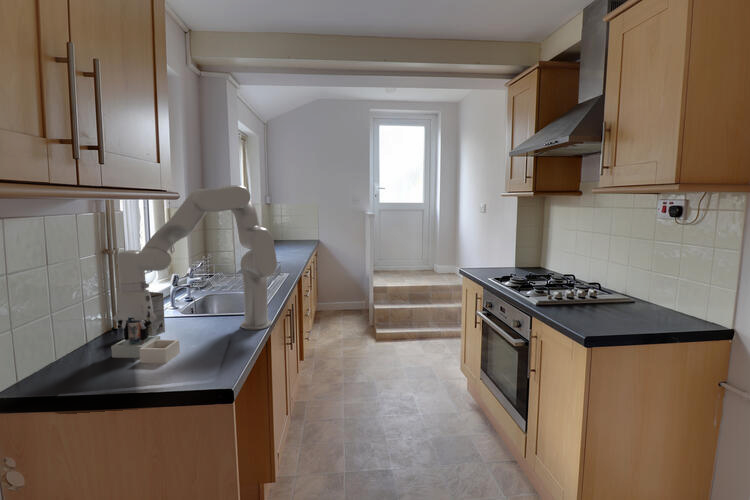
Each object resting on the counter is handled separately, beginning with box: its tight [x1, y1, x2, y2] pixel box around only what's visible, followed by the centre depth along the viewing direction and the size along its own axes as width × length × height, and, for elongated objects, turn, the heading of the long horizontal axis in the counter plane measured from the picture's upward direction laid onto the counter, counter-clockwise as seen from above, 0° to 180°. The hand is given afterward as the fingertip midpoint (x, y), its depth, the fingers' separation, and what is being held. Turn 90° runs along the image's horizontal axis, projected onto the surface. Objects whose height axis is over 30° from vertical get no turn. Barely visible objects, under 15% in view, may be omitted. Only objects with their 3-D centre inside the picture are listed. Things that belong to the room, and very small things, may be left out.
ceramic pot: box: [139, 339, 181, 364], centre depth 129 cm, size 8×8×6 cm
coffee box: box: [147, 291, 166, 336], centre depth 154 cm, size 9×6×16 cm
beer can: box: [127, 316, 145, 345], centre depth 133 cm, size 5×5×12 cm
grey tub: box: [110, 335, 161, 359], centre depth 134 cm, size 10×10×5 cm
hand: (136, 338), depth 133 cm, fingers closed on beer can, 4 cm apart
